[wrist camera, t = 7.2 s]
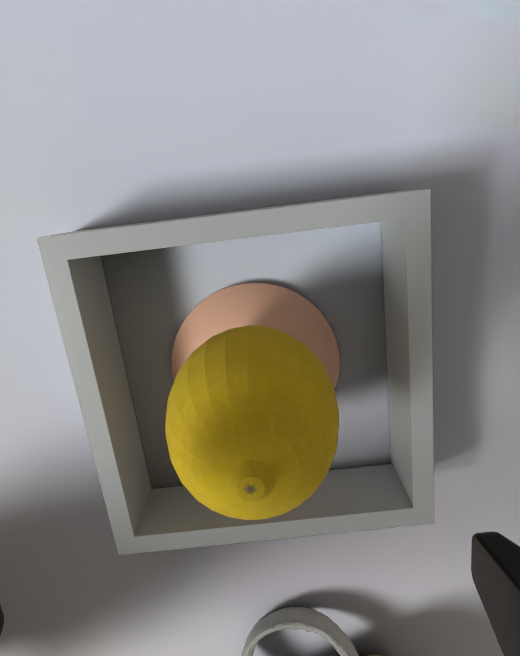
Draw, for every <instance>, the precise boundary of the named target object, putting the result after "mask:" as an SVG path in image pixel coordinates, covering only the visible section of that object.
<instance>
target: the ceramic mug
mask: <svg viewBox="0 0 520 656" xmlns="http://www.w3.org/2000/svg"><path fill="white" fill-rule="evenodd" d="M284 629H287V630H299V629H303V630H306V631H307V632H314V633H316V634H319V635H320V636H322V637H323V638H324V639H325V640H326V641H327V642H329V643H331V644H332V645H333V646H334V648H335V649H336V651H337V652H338V653H339V654H340V656H359V655H358V653H357V651H356V650H355V647H354V645H353V643H352V642H351V640H350V639H349V638H348V637H347V635H346V634H345V633H344V632H343V631H342V630H341V629H340V628H339V626H338V625H337V624H336V623H334V622H333V621H332V620H331V619H330V618H329V617H327V616H326V615H324V614H322V613H321V612H318V611H316V610H313V609H310V608H304V607H287V608H282V609H280V610H277V611H274V612H272V613H270V614H269V615H267V616H265V617H264V618H262V619H261V620H259V621H258V623H257V624H256V625H255V626H254V628H253V629H252V630H251V632H250V634H249V636H248V637H247V640H246V643H245V646H244V649H243V652H242V655H241V656H252V655H253V651H254V649H255V646H256V644H257V643H258V642H259V641H260V640H261V639H262V638H263V637H265V636H266V635H267V634H269V633H273V632H275V631H278V630H284ZM368 656H382V655H379V654H375V655H368Z"/></svg>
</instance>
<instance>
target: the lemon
mask: <svg viewBox="0 0 520 656" xmlns="http://www.w3.org/2000/svg"><path fill="white" fill-rule="evenodd" d="M338 428H339V410H338V405H337V401H336V396H335V391H334V387H333V384H332V382H331V380H330V378H329V376H328V374H327V372H326V371H325V369H324V367H323V365H322V363H321V362H320V360H319V359H318V358H317V357H316V356H315V355H314V354H313V353H312V352H311V351H310V349H309V348H308V347H307V346H306V345H305V344H303V343H302V342H300V341H299V340H297V339H296V338H294V337H292V336H291V335H289V334H288V333H285V332H282V331H279V330H276V329H273V328H270V327H263V326H250V325H249V326H243V327H237V328H232V329H229V330H226V331H224V332H222V333H219V334H217V335H215V336H212V337H211V338H209V339H208V340H207V341H206V342H204V343H203V344H202V345H200V346H199V347H198V348H197V349H195V350H194V351H193V352H192V354H191V355H190V356H189V358H188V359H187V360H186V362H185V363H184V364H183V366H182V367H181V368H180V370H179V371H178V373H177V376H176V378H175V381H174V383H173V386H172V388H171V391H170V394H169V397H168V402H167V412H166V422H165V433H166V439H167V445H168V450H169V455H170V459H171V462H172V465H173V467H174V469H175V471H176V473H177V475H178V477H179V479H180V481H181V483H182V484H183V485H184V486H185V487H186V488H187V490H188V491H189V492H190V493H191V494H192V495H193V496H194V497H195V499H196V500H197V501H199V502H200V503H202V504H203V505H205V506H206V507H208V508H209V509H211V510H212V511H215V512H217V513H220V514H222V515H225V516H227V517H231V518H237V519H243V520H261V519H267V518H271V517H275V516H279V515H282V514H284V513H286V512H288V511H290V510H292V509H294V508H296V507H298V506H299V505H301V504H302V503H303V502H304V501H305V500H306V499H308V498H309V497H310V496H311V495H312V494H313V493H314V492H315V491H316V490H317V488H318V487H319V485H320V484H321V483H322V481H323V480H324V478H325V477H326V475H327V473H328V471H329V468H330V466H331V463H332V460H333V458H334V455H335V452H336V448H337V441H338Z"/></svg>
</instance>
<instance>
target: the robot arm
mask: <svg viewBox="0 0 520 656" xmlns="http://www.w3.org/2000/svg"><path fill="white" fill-rule="evenodd" d="M471 572H472V577H473V581H474V584H475V586H476V589H477V591H478V594H479V596H480V598H481V601H482V603H483V606H484V608H485V611H486V613H487V615H488V618H489V620H490V623H491V625H492V627H493V630H494V632H495V635H496V637H497V640H498V642H499V644H500V647H501V649H502V652H503V654H504V656H520V546H518V545H517V544H515V543H513V542H512V541H510V540H509V539H507V538H506V537H504V536H503V535H501V534H500V533H497V532H483V533H476V534H474V535H473V537H472V554H471ZM3 624H4V615H3V611H2V608H1V606H0V634H1V632H2V628H3Z"/></svg>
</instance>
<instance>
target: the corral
mask: <svg viewBox="0 0 520 656" xmlns="http://www.w3.org/2000/svg"><path fill="white" fill-rule="evenodd" d="M379 221H381V235H382V259H383V283H384V306H385V330H386V354H387V377H388V401H389V424H390V448H391V464H383V465H374V466H365V467H355V468H346V469H336V470H329V471H328V473H327V475H326V477H325V478H324V480H323V481H322V483H321V484H320V485H319V487H318V488H317V490H316V491H315V492H314V493H313V494H312V495H311V496H310V497H309V498H308V499H306V500H305V501H304V502H303V503H302V504H301V505H299V506H298V507H296V508H294V509H292V510H290V511H288V512H286V513H284V514H282V515H279V516H275V517H271V518H267V519H261V520H243V519H237V518H231V517H227V516H225V515H222V514H220V513H217V512H215V511H212V510H211V509H209V508H208V507H206V506H205V505H203V504H202V503H200V502H199V501H197V500H196V499H195V497H194V496H193V495H192V494H191V493H190V492H189V491H188V490H187V488H186V487H185V486H177V487H167V488H158V489H152V488H151V484H150V479H149V475H148V470H147V466H146V461H145V457H144V452H143V447H142V443H141V438H140V434H139V429H138V425H137V420H136V416H135V411H134V407H133V402H132V398H131V393H130V388H129V384H128V379H127V375H126V370H125V366H124V361H123V357H122V352H121V348H120V343H119V339H118V334H117V330H116V325H115V320H114V316H113V311H112V307H111V302H110V298H109V293H108V289H107V284H106V280H105V275H104V271H103V266H102V261H101V257H100V256H102V255H110V254H118V253H127V252H135V251H143V250H151V249H159V248H167V247H175V246H184V245H192V244H200V243H208V242H216V241H224V240H233V239H241V238H249V237H257V236H265V235H273V234H281V233H290V232H298V231H306V230H314V229H322V228H330V227H338V226H347V225H355V224H363V223H371V222H379ZM37 241H38V245H39V249H40V253H41V257H42V260H43V264H44V268H45V272H46V276H47V280H48V284H49V288H50V291H51V295H52V299H53V303H54V307H55V311H56V315H57V319H58V323H59V326H60V330H61V334H62V338H63V342H64V346H65V350H66V354H67V357H68V361H69V365H70V369H71V373H72V377H73V381H74V385H75V388H76V392H77V396H78V400H79V404H80V408H81V412H82V416H83V420H84V423H85V427H86V431H87V435H88V439H89V443H90V447H91V451H92V454H93V458H94V462H95V466H96V470H97V474H98V478H99V482H100V486H101V489H102V493H103V497H104V501H105V505H106V509H107V513H108V517H109V520H110V524H111V528H112V532H113V536H114V540H115V544H116V548H117V551H118V555H127V554H137V553H147V552H157V551H166V550H176V549H186V548H196V547H205V546H215V545H225V544H235V543H245V542H254V541H264V540H274V539H284V538H294V537H303V536H313V535H323V534H333V533H343V532H352V531H362V530H372V529H382V528H392V527H401V526H411V525H421V524H431V523H434V449H433V361H432V273H431V189H421V190H402V191H393V192H385V193H377V194H369V195H361V196H353V197H345V198H337V199H329V200H321V201H313V202H305V203H297V204H289V205H281V206H273V207H265V208H257V209H249V210H241V211H233V212H225V213H217V214H209V215H201V216H193V217H185V218H177V219H169V220H161V221H153V222H145V223H137V224H129V225H121V226H112V227H104V228H96V229H88V230H80V231H73V232H67V233H62V234H56V235H51V236H45V237H39V238H37ZM249 325H250V326H263V327H270V328H273V329H276V330H279V331H282V332H285V333H288V334H289V335H291V336H292V337H294V338H296V339H297V340H299V341H300V342H302V343H303V344H305V345H306V346H307V347H308V348H309V349H310V351H311V352H312V353H313V354H314V355H315V356H316V357H317V358H318V359H319V360H320V362H321V363H322V365H323V367H324V369H325V371H326V372H327V374H328V376H329V378H330V380H331V382H332V384H333V387H334V391H335V388H336V385H337V382H338V378H339V371H340V355H339V348H338V344H337V341H336V337H335V335H334V333H333V331H332V328H331V326H330V325H329V323H328V322H327V320H326V318H325V317H324V316H323V314H322V313H321V312H320V311H319V310H318V308H317V307H315V306H314V305H313V304H312V303H311V302H310V301H309V300H307V299H306V298H304V297H303V296H301V295H300V294H298V293H296V292H294V291H292V290H290V289H287V288H284V287H282V286H279V285H274V284H269V283H257V282H255V283H243V284H237V285H233V286H230V287H227V288H224V289H221V290H219V291H217V292H215V293H213V294H211V295H210V296H208V297H207V298H205V299H204V300H203V301H201V302H200V303H199V304H198V305H197V306H196V307H195V308H194V309H193V310H192V311H191V312H190V313H189V314H188V316H187V317H186V319H185V320H184V322H183V323H182V325H181V327H180V329H179V331H178V333H177V335H176V338H175V342H174V345H173V350H172V358H171V368H172V376H173V380H174V381H175V378H176V376H177V373H178V371H179V370H180V368H181V367H182V366H183V364H184V363H185V362H186V360H187V359H188V358H189V356H190V355H191V354H192V352H193V351H194V350H195V349H197V348H198V347H199V346H200V345H202V344H203V343H204V342H206V341H207V340H208V339H209V338H211V337H212V336H215V335H217V334H219V333H222V332H224V331H226V330H229V329H232V328H237V327H243V326H249Z"/></svg>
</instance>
